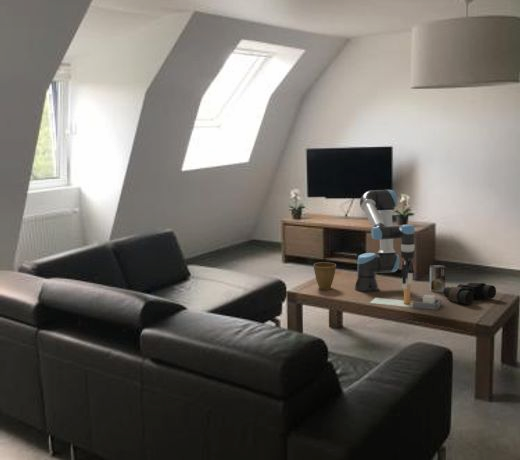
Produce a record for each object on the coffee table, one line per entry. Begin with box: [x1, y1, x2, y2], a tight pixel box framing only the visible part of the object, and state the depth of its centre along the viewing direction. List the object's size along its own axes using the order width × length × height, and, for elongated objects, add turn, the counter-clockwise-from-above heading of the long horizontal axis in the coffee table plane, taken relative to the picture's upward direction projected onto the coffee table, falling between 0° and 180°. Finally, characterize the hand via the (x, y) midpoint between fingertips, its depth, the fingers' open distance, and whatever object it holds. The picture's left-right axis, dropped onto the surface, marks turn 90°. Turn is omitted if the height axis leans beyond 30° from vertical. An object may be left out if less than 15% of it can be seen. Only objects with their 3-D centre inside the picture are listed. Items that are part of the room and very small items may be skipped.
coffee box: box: [428, 264, 446, 293], centre depth 397 cm, size 9×6×16 cm
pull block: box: [403, 282, 436, 305], centre depth 364 cm, size 18×6×12 cm, turn 63°
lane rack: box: [369, 297, 442, 311], centre depth 368 cm, size 40×12×4 cm, turn 63°
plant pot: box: [313, 261, 337, 290], centre depth 409 cm, size 15×15×16 cm
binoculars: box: [443, 282, 497, 305], centre depth 375 cm, size 29×20×10 cm
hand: (407, 286), depth 366 cm, fingers open, 13 cm apart
